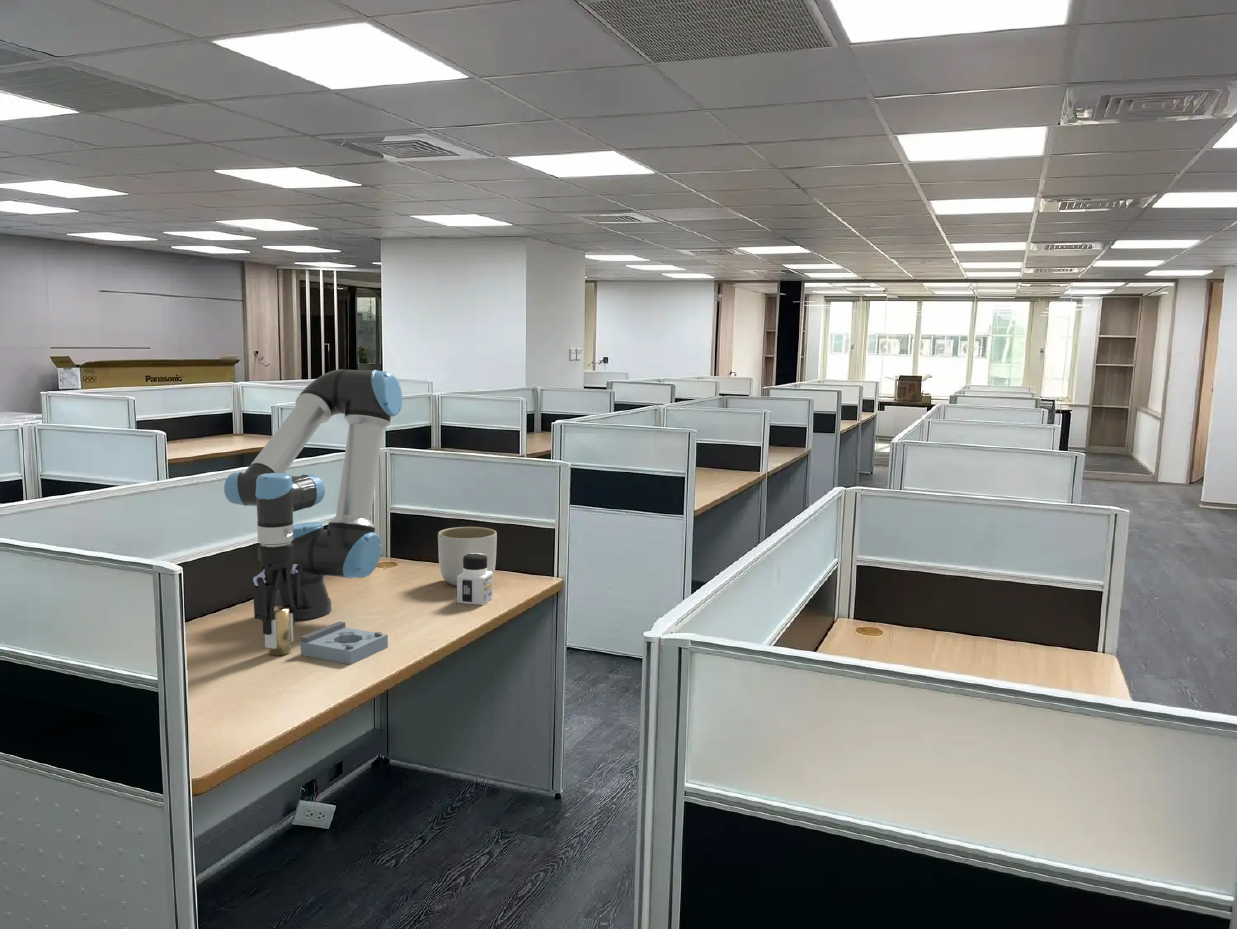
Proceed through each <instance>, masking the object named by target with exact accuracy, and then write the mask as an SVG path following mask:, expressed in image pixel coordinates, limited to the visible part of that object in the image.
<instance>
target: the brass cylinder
mask: <svg viewBox="0 0 1237 929" xmlns="http://www.w3.org/2000/svg"><path fill="white" fill-rule="evenodd" d="M273 619H275V620H276V636H277V648H275V649H273V648H268V653H269V655H270V656H283V655H287V654H289V653H290V652H291V642H290V618H289V607H286V606H276V607H274V614H273Z"/></svg>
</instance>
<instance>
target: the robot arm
mask: <svg viewBox="0 0 1237 929" xmlns="http://www.w3.org/2000/svg"><path fill="white" fill-rule="evenodd" d="M402 405H403V394H402V389H401V385H400V382H399V380H398V379H397V377H396V376H395V375H394V373H392V372H390V371H383V370H378V369H374V370H372V369H371V370H370V369H366V370H365V369H363V370H362V369H361V370H360V369H342V368H341V369H334V370H331V371H328V372H326V373H324V374H322V375H320V376H319V377H317V378H316V379H314V380H313V381H312V382H310V383H309V384H308V385H307V386H306V387H305V388H304V389H303V390H302V391H301V392H300V394H299V395H297V398H296V399H295V407H294V408H293V409H292V410H291V412H290V413H289V415H288V416H287V417H286V418H285V419H284V421H283V422H282V424H281V425H280V426H279V427H278V429H277V430H276V431H275V433H273V435H272V436H271V438H270V439H269V440H268V441H267V442H266V444H265V445H264V447H263V448H262V449H261V451H259V453H258V454H257V456H256V457H255V458H254V460H252V462H251V464H250V465H249V466H248V467H247V468H246V470H245V471H243V472H242V471H239V472H233V473H231V474H229V475H228V476H227V478H226V479H225V482H224V486H223V490H224V491H223V493H224V495H225V498H226V500H227V501H228V502H230V503H231V504H233V505H235V504H236V505H240V506H244V507H247V506H253V507H254V506H255V507H256V514H257V515H256V517H257V525H256V528H257V543H259V545H258V546H257V553H258V555H257V557H258V561H259V562H260V564H261V568H260V570H259V573H258V574H257V575H256V576H254V575H253V576H251V577H250V582H251V586H252V590H253V591H252V595H253V612H254V613H253V616H254V619H255V620H260V621H262V633H263V635H264V647H265V648H268V649H269V648H273V649H275V648H277V636H276V620H275V619H273V614H274V607H276V606H286V607H289V618H290V643H292V642H294V639H295V638H294V625H295V621H296V620H297V621H299V620H308V619H309V620H310V619H315V618H319V617H323V616H326V615H328V614H329V613H331V611H332V600H331V598H330V597H329V593H328V590H327V586H326V584H325V583H326V582H325V576H329V577H338V578H346V579H364V578H366V577H369V575H371V574H372V573H373V572H374V571H375V569H376V568H377V566H378V564H379V562H380V559H381V556H382V549H383V545H382V544H381V543H382V539H381V537H380V536H379V535H378V534H377V533H376V532H375V531H376V526H375V525H374V524H373V522H372V520H371V518H372V511H373V503H374V496H375V490H376V482H377V476H378V475H377V474H378V468H379V461H380V456H381V455H380V452H381V448H382V447H381V446H382V441H383V433H384V430H385V429H386V428H387V427H389V426H390V424H391V419H392V418H393V417H395V416H397V415H399V413H400V411H401V409H402ZM338 414H343V415H344V419H345V421H346V422H347V424H348V431H347V438H346V444H345V452H344V459H343V466H342V471H341V477H340V478H341V479H340V486H339V492H338V499H337V506H336V512H335V516H334V517H333V518H331V519H330V520H329V521H328V523H327V529H324V524H323V523H322V522H320V521H308V522H300V523H295V524H294V512H298V511H301V510H304V509H307V508H308V509H309V508H312V507H314V506H316V505H318V504H320V503H321V502H322V500H324V497H325V494H326V489H325V488H326V487H325V484H324V482H323V481H322V479H321V478H320V477H318V475H315V474H310V473H309V474H301V475H298V476H297V475H295V476H294V475H291V474H289V473H287V471H288V469H289V468H290V467H291V465H292V464H293V463H294V461H295V459H296V458H297V457H298V456H299V454H300V453H301V452H302V450H303V449H304V448H305V446H306V445H307V443H308V442H309V440H310V439H311V438H312V437H313V435H314V434H315V432H316V431H317V430H318V428H319V427H320V426H321V424H325V423H326V422H328V421H329V420H331V417H332V416H335V415H338Z"/></svg>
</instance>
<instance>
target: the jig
mask: <svg viewBox="0 0 1237 929" xmlns="http://www.w3.org/2000/svg"><path fill="white" fill-rule="evenodd" d="M388 640H389V636H388V634H385V633H383V632H381V631H376V632H373V631H369V630H363V629H356V628H351V627H346V622H344V621H337V622H335V623H331V624H329V625H327V626H324V627H322V628H319V629H317V630H314V631H311V632H308V633H306V634H304V635H302V636H300V655H301V656H306V657H311V658H314V659H315V658H316V659H321V660H326V661H331V662H337V663H341V664H347V665H353V664H355V663H357V662H359V661H361V660H363V659H366V658H368V657H370V656H372V655H375V654H377V653H379V652H381V651H383V650H385V649H387V648H388V646H389V643H388V642H389V641H388Z"/></svg>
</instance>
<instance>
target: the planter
mask: <svg viewBox="0 0 1237 929" xmlns="http://www.w3.org/2000/svg"><path fill="white" fill-rule="evenodd" d="M497 534H498V533H497V531H496V530H494V529H492V528H489V527H482V526H458V527H449V528H445V529H442V530H440V531H438V533H437V543H438V544H437V545H438V546H437V547H438V548H437V549H438V565H439V573H440V574H441V577H442V578H443V579H444V581H446V583H447V584H449V585H451V586H455V587H457V576H458V575H460V574H461V573H463V572H464V571H463V557H464V556H465V555H467V554H470V553H481V554H484V555H486V556H487V571H492V572H493V575H494V574H495V570H496V562H497V543H498V542H497V540H498V539H497V538H498V535H497Z"/></svg>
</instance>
